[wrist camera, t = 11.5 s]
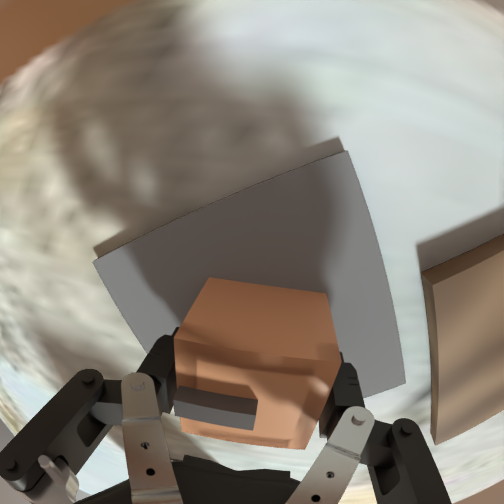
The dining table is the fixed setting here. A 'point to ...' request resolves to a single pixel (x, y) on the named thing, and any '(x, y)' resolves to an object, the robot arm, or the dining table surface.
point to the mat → (271, 262)
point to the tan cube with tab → (255, 363)
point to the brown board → (466, 339)
